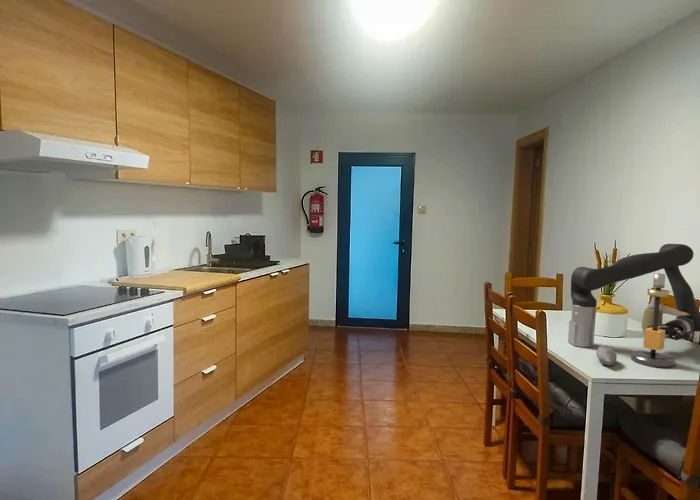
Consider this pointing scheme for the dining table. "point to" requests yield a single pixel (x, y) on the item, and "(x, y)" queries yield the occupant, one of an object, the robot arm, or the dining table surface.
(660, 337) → the sleeve
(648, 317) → the squeeze bottle
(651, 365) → the post
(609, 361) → the grey stone
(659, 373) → the dining table surface
